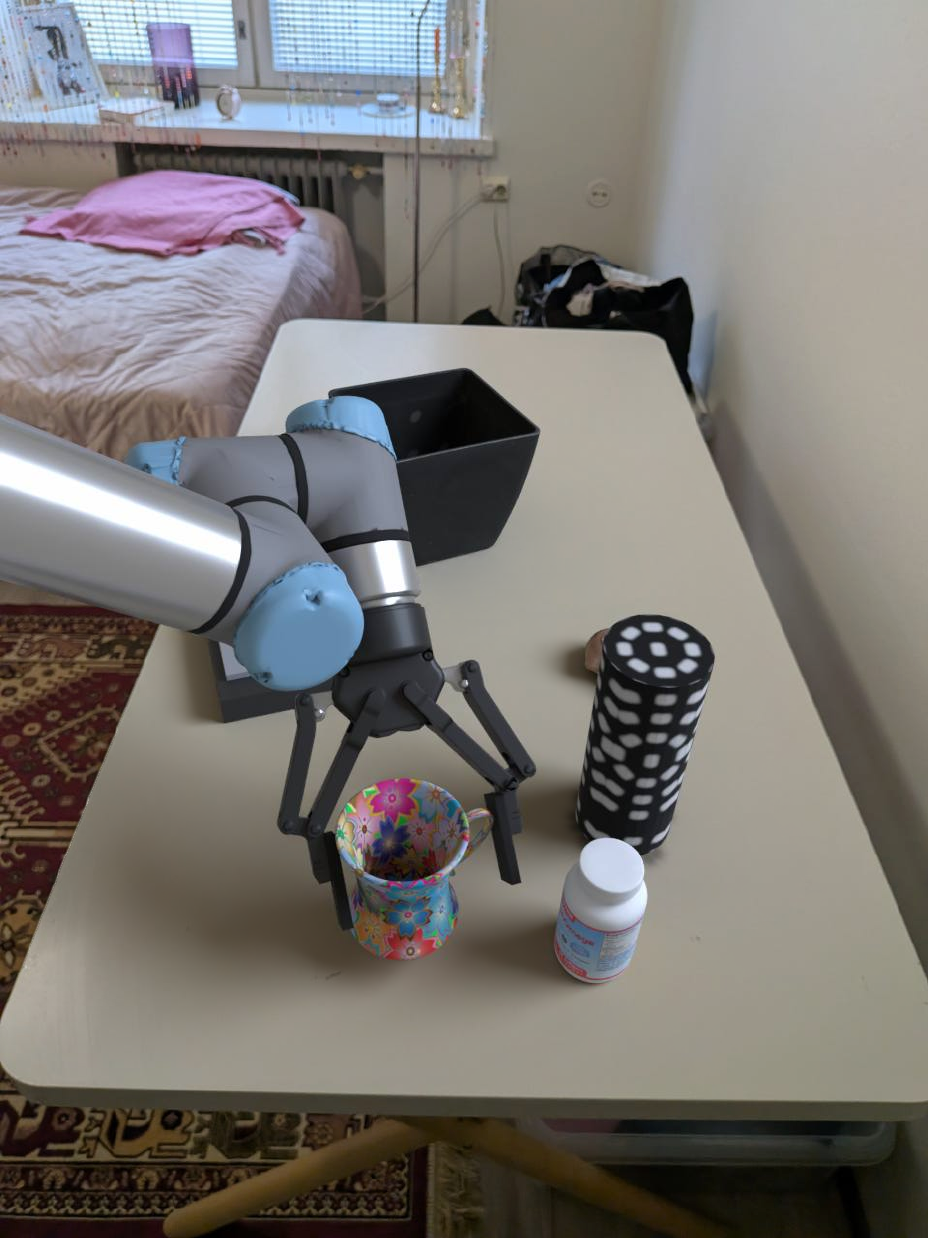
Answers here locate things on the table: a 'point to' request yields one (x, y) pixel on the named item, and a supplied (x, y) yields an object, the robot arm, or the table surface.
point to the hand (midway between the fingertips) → (430, 903)
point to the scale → (249, 688)
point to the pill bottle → (601, 911)
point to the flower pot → (453, 457)
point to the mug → (405, 864)
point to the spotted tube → (642, 728)
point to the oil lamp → (594, 650)
